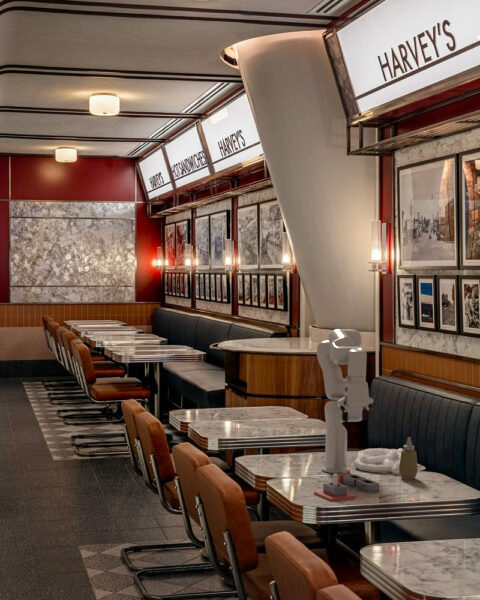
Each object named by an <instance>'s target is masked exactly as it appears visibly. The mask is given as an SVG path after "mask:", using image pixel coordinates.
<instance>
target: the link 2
mask: <svg viewBox="0 0 480 600" xmlns="http://www.w3.org/2000/svg"><path fill="white" fill-rule="evenodd" d="M355 490H358V491H360V492H363V493H366V494H372V492H373V493H379V492H380V482H377V481H374V480H372V479H369V478H366V479H362V480H356V488H355Z"/></svg>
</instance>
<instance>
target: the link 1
mask: <svg viewBox="0 0 480 600" xmlns="http://www.w3.org/2000/svg"><path fill="white" fill-rule="evenodd" d="M352 474H353V473H352ZM362 479H367V478H366V477H364V476H361V475H359V474H353V475H344V476H343V483H342V485H345V486H347V487H350V488H353V489H356V480H362Z"/></svg>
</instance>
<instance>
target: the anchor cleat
mask: <svg viewBox="0 0 480 600" xmlns="http://www.w3.org/2000/svg"><path fill="white" fill-rule="evenodd" d="M347 467H348V466H346V467H343V473H336V474H337V475H338V483H340V484H343V476H344V475H353V473H350V472H347V473H346V471H347Z"/></svg>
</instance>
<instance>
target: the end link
mask: <svg viewBox="0 0 480 600" xmlns="http://www.w3.org/2000/svg"><path fill="white" fill-rule="evenodd" d="M322 491H323V492H324V493H327V494H329V495H332V496H334V497H336V496H345V495H347V492H348V485H345V484H343V483H339V482H338V487H335V486H333V481H332V482H324V483H323V485H322Z"/></svg>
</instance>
